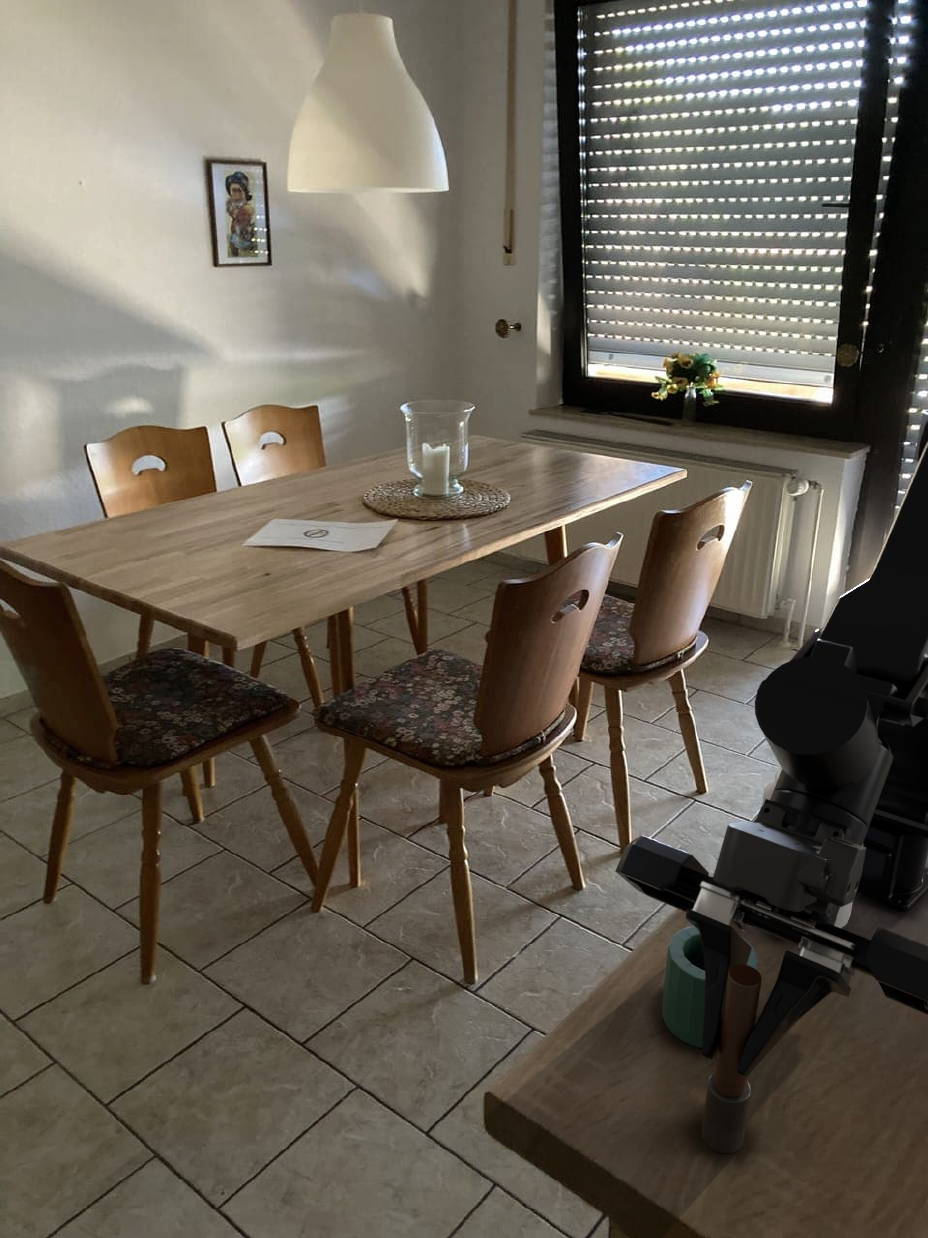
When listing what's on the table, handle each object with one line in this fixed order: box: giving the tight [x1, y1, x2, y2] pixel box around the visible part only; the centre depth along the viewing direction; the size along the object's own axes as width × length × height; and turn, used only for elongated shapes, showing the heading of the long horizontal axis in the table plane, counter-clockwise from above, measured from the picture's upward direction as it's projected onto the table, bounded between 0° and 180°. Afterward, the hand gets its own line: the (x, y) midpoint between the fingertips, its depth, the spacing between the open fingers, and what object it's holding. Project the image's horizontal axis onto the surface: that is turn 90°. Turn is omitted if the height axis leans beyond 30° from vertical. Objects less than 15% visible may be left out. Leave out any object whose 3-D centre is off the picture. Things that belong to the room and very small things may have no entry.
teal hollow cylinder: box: [661, 925, 759, 1051], centre depth 69 cm, size 6×6×6 cm
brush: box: [701, 964, 763, 1154], centre depth 59 cm, size 2×2×12 cm
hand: (723, 1066), depth 57 cm, fingers closed on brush, 2 cm apart
